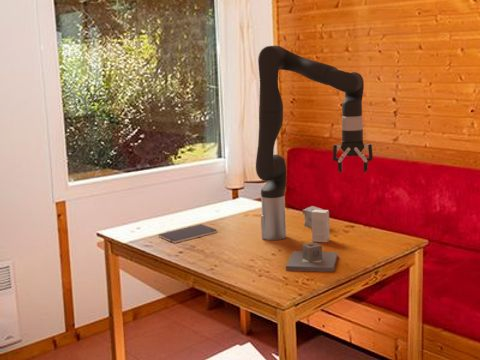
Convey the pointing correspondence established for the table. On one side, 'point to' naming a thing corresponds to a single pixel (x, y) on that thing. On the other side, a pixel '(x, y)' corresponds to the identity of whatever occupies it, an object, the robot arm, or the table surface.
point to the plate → (322, 265)
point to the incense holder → (309, 215)
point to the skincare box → (320, 226)
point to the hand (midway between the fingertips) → (352, 172)
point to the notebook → (187, 233)
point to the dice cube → (312, 252)
